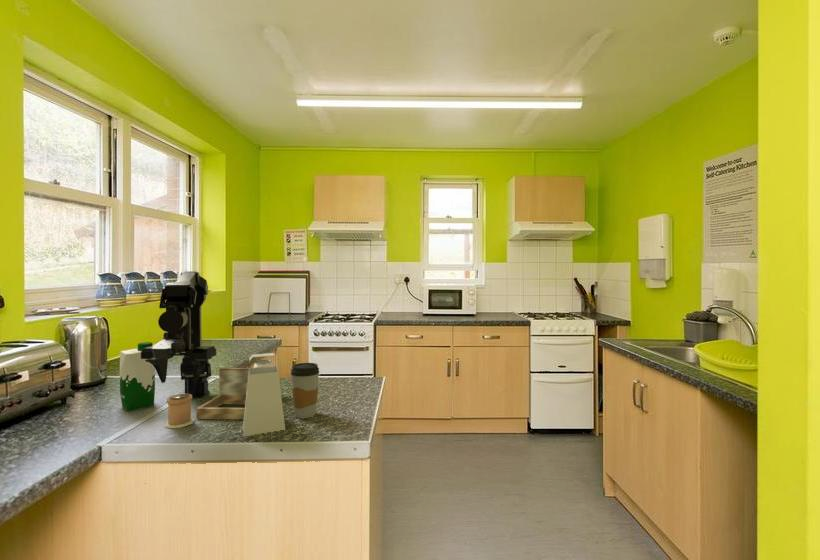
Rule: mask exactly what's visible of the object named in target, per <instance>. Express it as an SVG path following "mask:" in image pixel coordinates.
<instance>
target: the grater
mask: <svg viewBox="0 0 820 560" xmlns="http://www.w3.org/2000/svg"><path fill="white" fill-rule="evenodd" d="M270 356H271V357H272V356H274V357H276V365H275V366H274V365H273V367H261V368H254V367H249V368H250V369H249V373H248V383H247V392H246V401H245V404H244V408H245V411H244V419H242V420H243V422H242V424H243V426H242V427H243V428H242V432H243V433H242V434H243V437H251V436H256V435H255V434H257V435H262V434H261V433H264V434H268V433H267V432H271V433H275V432H274V431H277V432H281V431H280V430H284V431H286V425H285V424H286V423H285V417H284V407H283V400H282V399H283V398H282V391H281V381H280V372H279V358H278V356H277V354H275V353H274V352H270V353H269V352H268V353H253V354H252V355H250V357H249V358H248V362H250V361H252V359H253V358H258V357H259V358H260V357H270ZM250 435H251V436H250Z"/></svg>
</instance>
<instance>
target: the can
mask: <svg viewBox="0 0 820 560" xmlns="http://www.w3.org/2000/svg"><path fill="white" fill-rule="evenodd" d="M273 366H274V364H273V360H271V359H262V360H257V361H254V365H253V368H261V367H273Z"/></svg>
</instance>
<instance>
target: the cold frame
mask: <svg viewBox="0 0 820 560" xmlns="http://www.w3.org/2000/svg"><path fill="white" fill-rule="evenodd" d="M250 368H251V367H220V368H219V369H218V370H219V373H218V374H219V395H216V396H215V397H213V398H211V399H210V400H208V401H206V402H205V403H203V404H202V405H200V406H198V407H197V408H196V419H197V420H203V419H205V420H244V411H245V407H220V406H222V405H245V401H246V392H247V383H248V373H249V369H250ZM221 404H222V405H221ZM218 406H219V407H218Z"/></svg>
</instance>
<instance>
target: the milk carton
mask: <svg viewBox="0 0 820 560" xmlns="http://www.w3.org/2000/svg"><path fill="white" fill-rule="evenodd" d="M151 346H154V345H153V342H149V341H147V342H139V343H137V348H131V349H126V350H120V352H119V354H120V356H119V396H120V402H121V406H122V408H123V409H124V410H126V411H127V412H132V411H136V410H142V409H145V408H150V407H154V406H155V393H156V377H155V376H156V369H155V367H154V366H153V365H152V364H151V363H149V362H146V361H145V360H147V359H141V351H142V350H143V348H147V347H151Z"/></svg>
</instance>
